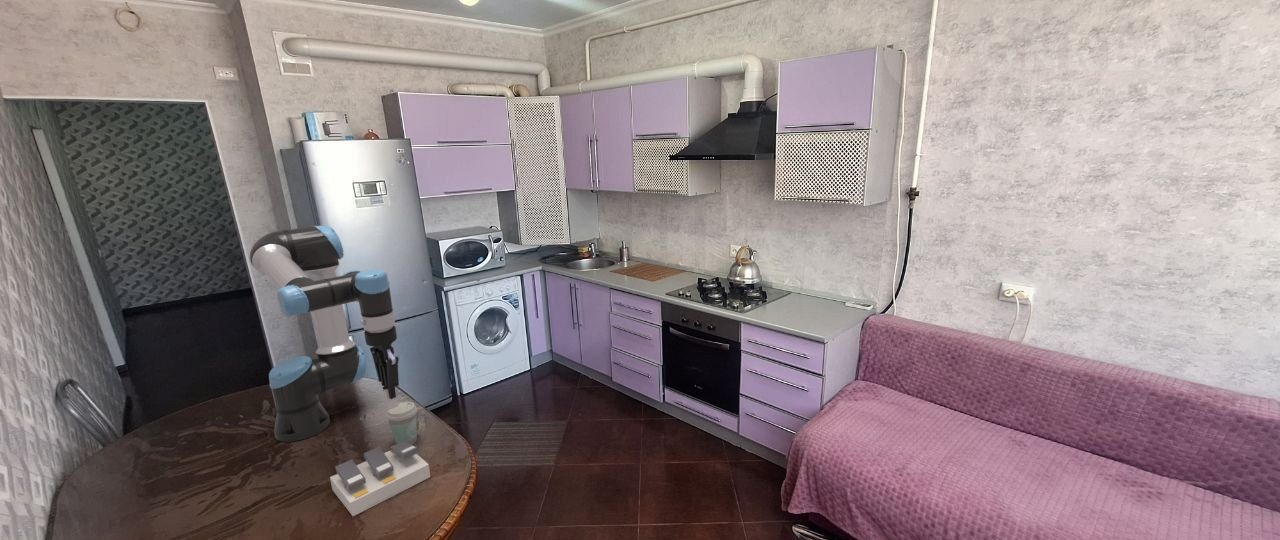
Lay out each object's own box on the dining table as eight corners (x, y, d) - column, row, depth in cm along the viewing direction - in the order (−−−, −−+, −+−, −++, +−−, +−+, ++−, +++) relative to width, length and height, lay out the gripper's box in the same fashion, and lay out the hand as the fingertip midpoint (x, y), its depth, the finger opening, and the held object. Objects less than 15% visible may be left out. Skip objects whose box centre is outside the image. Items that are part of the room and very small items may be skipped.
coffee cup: (410, 451, 152) (404, 416, 149) (385, 449, 154) (379, 413, 151) (427, 435, 160) (422, 401, 157) (403, 433, 162) (397, 399, 159)
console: (332, 490, 136) (328, 472, 135) (406, 455, 150) (404, 438, 149) (352, 516, 126) (349, 497, 125) (430, 476, 141) (427, 459, 139)
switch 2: (364, 457, 138) (363, 452, 137) (379, 450, 141) (379, 446, 140) (378, 478, 133) (377, 473, 132) (393, 471, 136) (393, 466, 135)
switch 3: (391, 452, 143) (390, 446, 143) (405, 445, 146) (404, 440, 146) (404, 459, 137) (402, 453, 137) (418, 452, 140) (417, 446, 140)
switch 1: (336, 471, 133) (335, 466, 133) (352, 464, 136) (351, 458, 135) (349, 491, 128) (348, 485, 127) (366, 483, 131) (365, 477, 130)
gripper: (355, 326, 136) (369, 404, 143) (374, 338, 128) (388, 421, 134) (384, 318, 142) (396, 394, 148) (404, 329, 133) (416, 409, 139)
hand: (392, 407), depth 141 cm, fingers closed
